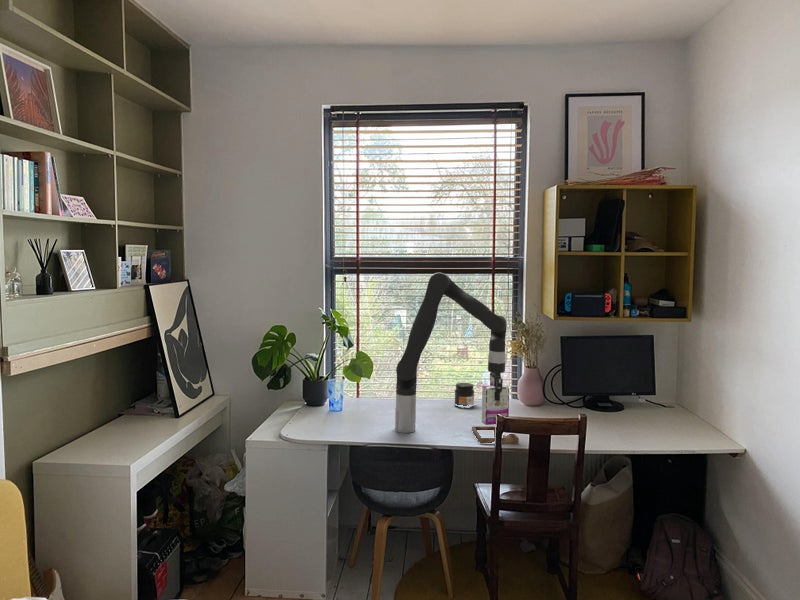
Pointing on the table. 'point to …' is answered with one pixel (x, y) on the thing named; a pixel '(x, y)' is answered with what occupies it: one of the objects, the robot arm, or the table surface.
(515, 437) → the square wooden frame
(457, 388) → the supplement container
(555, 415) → the table surface
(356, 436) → the table surface
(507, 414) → the candy bar box
